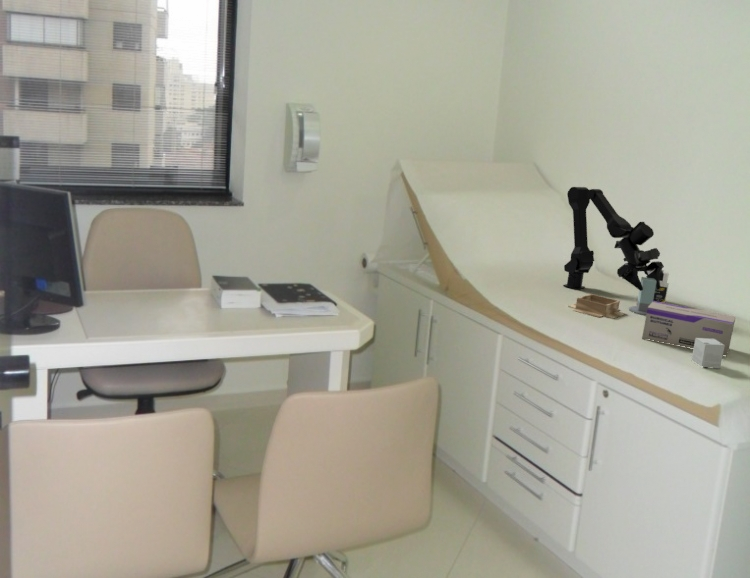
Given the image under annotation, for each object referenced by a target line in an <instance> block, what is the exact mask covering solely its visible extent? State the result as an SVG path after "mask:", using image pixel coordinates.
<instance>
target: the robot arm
mask: <svg viewBox="0 0 750 578" xmlns="http://www.w3.org/2000/svg"><path fill="white" fill-rule="evenodd" d="M567 201H568V205H569V206H570V208H571V209H572V217H573V220H572V221H573V240H574V241H573V243H574V247H573V250H572V252H571V254H570V260H569V261H568V262H567V263H565V264H564V266H563V269H564V272H567V273H568V274H567V275H568V276H567V282H566V283H565V284H563V285H562V287H565V288H570V289H573V290H577V291H578V290H583V289H585V288H586V286H584V285H583V281H584V274H588V273H589V272H590V270H591V268H593V266H594V262H595V257H594V254H595V253H594V250H590V248H589V246H588V245H589V244H588V228H587V227H588V225H587V224H588V223H587V209H588V207H589V206H590V205H589V204H590V202H592V204H593V205H594V206H595V208H596V209H597V211H598V212H599V214H600V215H601V216H602V217H603V219H604V220H605V222H606V229H607V231H608V233H609V235H610V237H612V238H614V239H619V238H620V240H616V241H615V244H614V249H620V250H621V252H622V254H623V256H624V258H623V259H622V260H623V261H624V262H625V263H624V264H622V265H621V266H620V267H619V268H617V270H616V273H617V276H618V278H621V279H622V280H625V281H627V282H628V283H629V284H631V285H632V286H634V287H635V288H636V289H637V290H638V291H639V290H640V291H642V290H643V287H642V284H641V279H640V278H639V273H640V272H643V273H644V274H645V275H646V276H645V278H654V279H655V280H656V281H657V282H656V288H657V289H660V280H659V273H660V271H661V270H663V268H664V264H663V262H662V261H659V260H658V261H652V260H657V259H659V257H660V256H661V255H660V254H661V252H660V251H659V249H658V248H657V247H654V248H650V249H649V250H643V249H642V250H641V249H640V248H639V246H643V245H644V244H645V243H646V242H647V241H649V240H650V239H651V238H652V237H654V230H653V228H652V227H651V226H650V225H648V224H646V222H645V221H639V222H638V223H637V224H636V225H635V226H634V227H633V226H632V225H631V223H630V222H628V220H627V219H625V218H623V217H622V216H620V215H619V214H618V212H617V211H616V210H615V209H614V207H613V205H611V203H610V201H609V200H608V199H607V197H606V196H605V194H604V192H603V190H601V189H599V188H590V189H588V187H585V186H583V187H582V186H572V187H570V188H569V189H568V191H567ZM651 261H652V262H651Z"/></svg>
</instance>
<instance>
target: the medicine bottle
mask: <svg viewBox="0 0 750 578" xmlns="http://www.w3.org/2000/svg"><path fill="white" fill-rule="evenodd" d="M669 275H670V274H669V272H668V271H665V270H663V269H662V270H661V271H660V273H659V280H660V289H657V288H656V287H655V293H654V298H653V301H657V302H662V303H666V298H667V295H668V288H669V284H670V283H668V280H669V279H668V278H669Z"/></svg>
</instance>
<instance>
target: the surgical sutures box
mask: <svg viewBox="0 0 750 578" xmlns="http://www.w3.org/2000/svg"><path fill="white" fill-rule="evenodd" d="M644 319H645V320H644V325H643V332H642V337H641V340H645V339H650V340H654V341H659V342H664V343H670V344H674V345H680V346H685V347H690V348H694V344H695V338H707V339H715V340H717V341H719V342H720V343H722V344H724V345H725V346H724V351H723V355H728V353H727V352H729V350H730V346H731V341H732V338H733V337H732V335H733V332H734V327H735V322H736V316H733V315H729V314H728V315H727V314H723V313H719V312H718V313H717V312H712V311H707V310H703V309H697V308H694V307H693V308H692V307H687V306H682V305H677V304H672V303H666V302H665V303H662V302H657V301H653V302H652V303H651V304H650V305H649V306H648V308H647V314H646V315H645V318H644ZM654 341H653V342H654ZM659 342H658V343H659ZM728 349H729V350H728Z"/></svg>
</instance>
